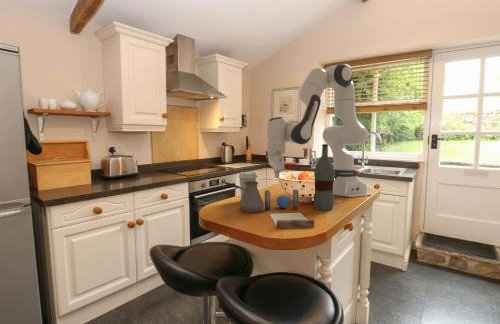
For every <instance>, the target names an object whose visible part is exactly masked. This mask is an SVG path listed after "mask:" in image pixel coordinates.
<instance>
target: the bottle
mask: <svg viewBox="0 0 500 324" xmlns="http://www.w3.org/2000/svg"><path fill="white" fill-rule="evenodd" d="M321 147H322V148H321V149H322V150H321V156H320V158H319V160H318V161H317V163H316V164H315V167H314V172H313V174H314V176H313V177H315V194H314V202H313V205H314V209H315V210H317V211H322V212H330V211H332V210H333V208H334V203H335V197H334V196H335V195H333V183H334V175H335V172H334V166H333V162H332V161H331V159H330V157H329V152H328V151H329V145H328V144H327V143H323V144H321Z"/></svg>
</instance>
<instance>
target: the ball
mask: <svg viewBox="0 0 500 324" xmlns="http://www.w3.org/2000/svg"><path fill="white" fill-rule="evenodd" d="M276 204H277V206H278V207H279V208H281V209H287V208H288V207H289V205H290V199H289V197H288V196H287V195H282V194H281V195H279V196H278V197H277V198H276Z"/></svg>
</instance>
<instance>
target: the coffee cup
mask: <svg viewBox="0 0 500 324" xmlns="http://www.w3.org/2000/svg"><path fill="white" fill-rule="evenodd" d="M257 178H258V175H257V172H254V171H241V172H239V174H238V179H239V187H242V188H246V185H245V184H244V183H245V182H249V181H253V182H257ZM243 193H244V190H242V189H240V198H241V197H242V195H243Z"/></svg>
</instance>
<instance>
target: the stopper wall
mask: <svg viewBox="0 0 500 324" xmlns="http://www.w3.org/2000/svg"><path fill="white" fill-rule="evenodd" d="M276 228H277V229H279V230H280V229H296V228H297V229H298V228H299V229H301V228H302V229H303V228H315V220H314V219H313V218H306V219H300V220H277V225H276Z"/></svg>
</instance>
